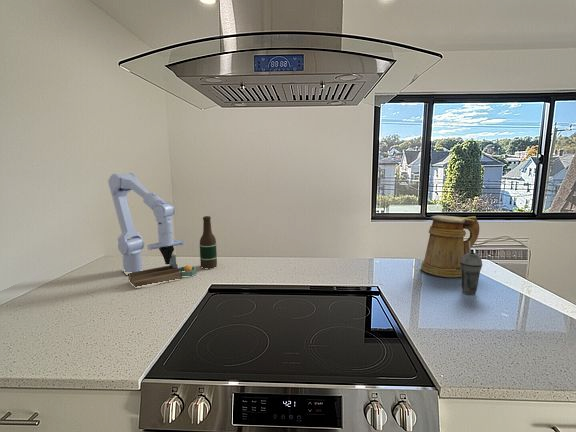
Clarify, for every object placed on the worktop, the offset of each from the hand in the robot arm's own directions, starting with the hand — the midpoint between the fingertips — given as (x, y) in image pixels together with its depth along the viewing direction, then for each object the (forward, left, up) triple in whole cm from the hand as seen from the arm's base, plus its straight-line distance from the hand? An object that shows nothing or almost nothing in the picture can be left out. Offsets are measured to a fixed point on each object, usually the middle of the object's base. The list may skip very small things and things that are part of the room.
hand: (167, 263), depth 148 cm
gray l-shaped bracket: (0, +3, -3) cm, 4 cm away
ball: (0, +9, -4) cm, 10 cm away
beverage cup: (+87, +83, -7) cm, 120 cm away
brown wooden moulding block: (0, -5, -6) cm, 8 cm away
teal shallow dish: (0, +8, -6) cm, 10 cm away
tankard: (+69, +101, -7) cm, 123 cm away
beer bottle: (-4, +21, -7) cm, 22 cm away
